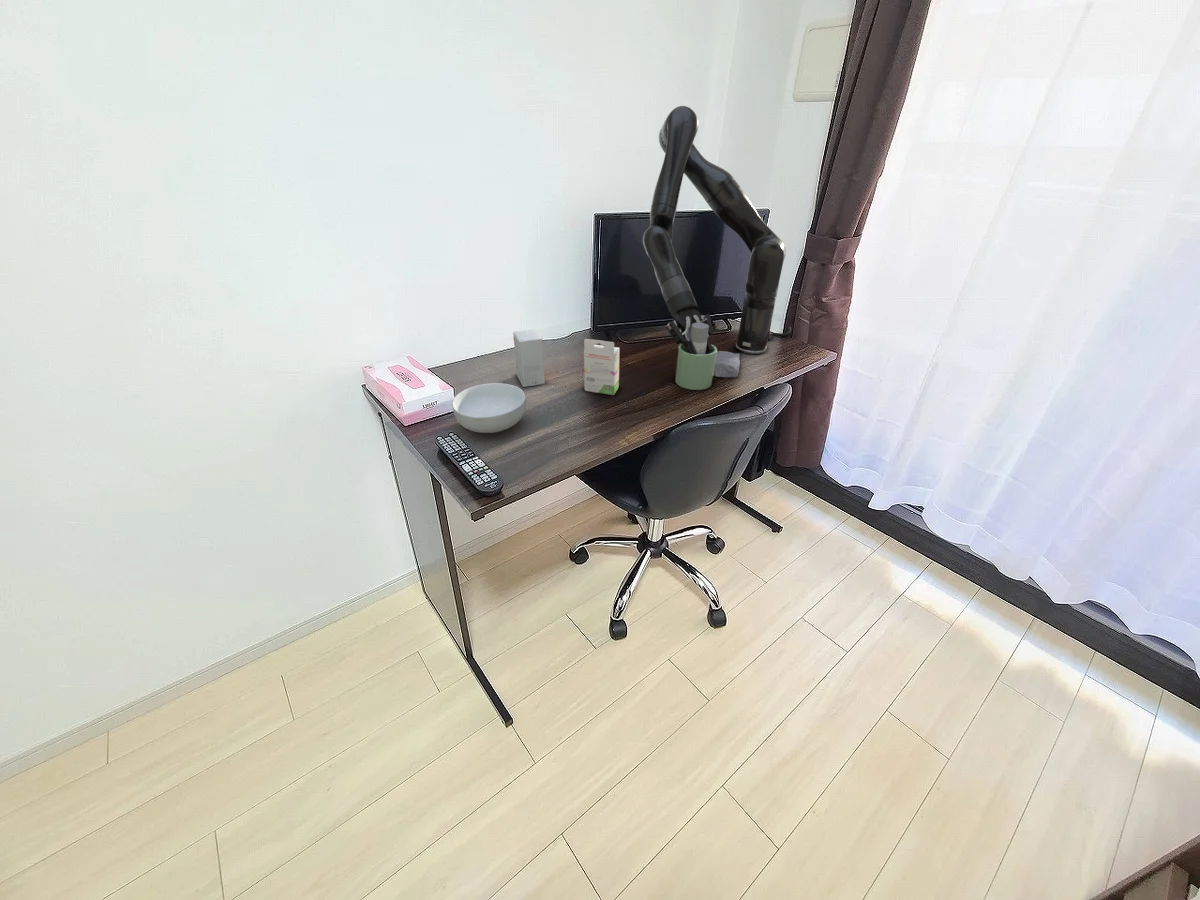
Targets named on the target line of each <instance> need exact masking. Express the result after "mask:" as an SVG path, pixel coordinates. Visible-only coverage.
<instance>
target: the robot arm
mask: <svg viewBox="0 0 1200 900" xmlns="http://www.w3.org/2000/svg"><path fill="white" fill-rule="evenodd" d="M698 131H699V119H698V116H697V114H696V112H695V111H694V110H693V109H692V108H691V107H690V106H686V105H679V106H677V107H675V108H674V109H672V110H671V111H670V112H669V113H668V115H667V117H666V118H665V120H664V122H663V124H662V125H661V128H660V130H659V132H658V143H659V146H660V148H661V150H662V151H663V152H664V154H665V155H664V158H663V162H662V165H661V169H660V172H659V175H658V177H657V181H656V184H655V188H654V191H653V196H652V200H651V206H650V209H649V220H650V221H649V222H650V225H649V227H647V229H646V230H645V231H644V233H643V236H642V245H643V247H644V251H645V253H646V255H647V257H648V258H649V259H650V262H651V264H652V266H653V270H654V274H655V278H656V280H657V283H658V286H659V287H660V290H661V294H662V298H663V300H664V303H665V305H666V307H667V310H668V312H669V315H670V317H671V319H672V320H671V321H669V322H668V323H667V325H666V326H665V328H666V330H667V332H668V333H669V335H670V336H671V338H672V339H673V340H674V342H675V343H676V344H677V345H680V344H683V345H684V346H685V348H686V350H687V353H690V354H697V353H696V350H695V348H694V345H693V343H692V341H691V342H690V340H691V338H690V334H691V327H692V324H693V323H705V324H707V325H709V329H708V338H707V347H706V354H707V353H709V352H711V351H712V345H713V344H712V343H711V340H710V336H712V335H713V333H714V329H713V324H712V319H711V318H712V317H711V314H710V313H707V314H705V315H704V314H703V315H702V314H701V312H699V310H698V304H697V301H696V299H695V296H694V293H693V291H692V289H691V286H690V284H689V282H688V280H687V279H686V277H685V274H684V272H683V269H682V267H681V265H680V263H679V261H678V258H677V257H676V252H675V249H674V247H673V246H674V245H673V244H672V242H673V234H674V233H673V232H674V222H675V218H676V214H677V209H678V204H679V198H680V193H681V188H682V183H683V178H684V175H685V176H686V177H687V179H688V180H689V182H690V183H691V184H692V185H693V186H694V188H695V189H696V190H697V192H698V193H699V194H700V195H701V196H702V198H703V200H704V201H705V203H707V205H708V206H709V208H710V209H711V210H712V211H713V213H714V214H715V215H716V216H717V218H719V220H720V221H722V222H723V223H724V225H726V226H727V227H728V228H730V229H731V230H732V231H734V232H735V233H736V234H737V235H738V236H739V237H740V238H741V239H742V241H743V242H744V244H745V245H746V247H747V249H748V250H749V251H750V257H749V263H748V269H747V275H746V282H745V292H744V298H743V304H742V310H741V315H740V320H739V321H740V322H739V328H738V334H737V339H736V343H735V349H736V350H737V351H738V352H740V353H744V354H748V355H761V354H764V353H766V351H767V346H768V341H771V340H772V339H771V338H772V337H787V336H789V335H790V334H791V332H792V327H791V326H788V327H787V331H786V332H771V326H772V323H773V316H774V312H775V307H776V301H777V296H778V291H779V287H780V286H779V285H780V279H781V277H782V276H781V275H782V271H783V266H784V261H785V259H786V255H787V249H786V244H785V243H784V242H783V240H782V238H780V237H779V236H778V235H777V233H775V232H774V231H773V230H772V229H771V228H770V227H769V226H768V225H767V223H766V222H765V221H764V220H763V219H762V217H761V216H760V215H759V213H758V212H757V210H756V208H755V207H754V205H753V203H752V202H751V200H750V199H749V197H748V196H747V194H746V193H745V192H744V190H743V188H742V187H741V185H740V184H739V183H738V182H737V180H736V179H735V177H734V176H733V175H732V174H731V173H730V172H728V171H727V170H725V169H724V168H722V167H720V166H719V165H716V164H714V163H713V162H711V161H709V160H707V159H706V158H705V157H704V155H702V154H701V153H700V151H699V150H698V149H697V147H696V146H695V144H694V141H695V138H696V136H697V134H698ZM711 344H712V345H711Z"/></svg>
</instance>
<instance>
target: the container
mask: <svg viewBox="0 0 1200 900" xmlns="http://www.w3.org/2000/svg"><path fill="white" fill-rule="evenodd" d="M708 329H709V325H707V324H705V323H693V324H692V327H691V333H690V338H691V340H690V342H691V341H692V343H693V345H694V348H695V350H696V353H697V354H696V355H705V354H706V347H707V338H708Z"/></svg>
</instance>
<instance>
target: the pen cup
mask: <svg viewBox="0 0 1200 900" xmlns="http://www.w3.org/2000/svg"><path fill="white" fill-rule="evenodd" d="M711 345H712V351H711V352H709V353H707V354H705V355H696V354H690V353H687V350H686V348H685V346H684V345H683V344H678V347H677V357H676V366H675V376H674V381H675V384H676V385H677V386H679V387H680V388H683V389H685V390H691V391H702V390H707V389H710V387H712V385H713V382H714V376H713V375H714V369H715V362H716V355H717V352H718V348H717V346H715V345H714V344H712V343H711Z"/></svg>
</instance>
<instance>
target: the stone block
mask: <svg viewBox="0 0 1200 900" xmlns="http://www.w3.org/2000/svg"><path fill="white" fill-rule="evenodd" d="M740 361H741V360H740V353H735V352H730V351H725V350H719V351H718V350H717V355H716V362H715V369H714V375H713V377H716V378H732V379H733V378H734V379H735V378H737V377H738V376H739V371H740V365H741V364H740V363H741V362H740Z"/></svg>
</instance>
